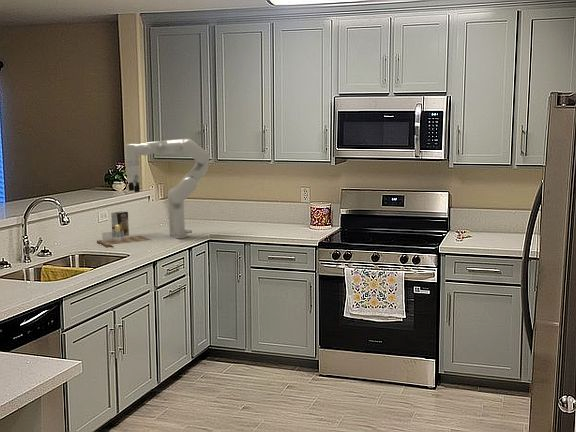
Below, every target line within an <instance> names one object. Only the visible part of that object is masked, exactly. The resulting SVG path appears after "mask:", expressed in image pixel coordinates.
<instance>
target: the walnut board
mask: <svg viewBox="0 0 576 432" xmlns="http://www.w3.org/2000/svg"><path fill="white" fill-rule="evenodd" d="M145 241H152V238H151V239H150V238H147V237H145V236H142V235H134V236H128V237H127V236H124V241H122V242H106V243H103V241H102V239H99V240H96V244H98V245H100V244H101V246H102V245H103V246H102V247H104V248H114V246H115V245H118V244H127V243H128V244H129V243H138V242H145Z"/></svg>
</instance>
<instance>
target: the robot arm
mask: <svg viewBox="0 0 576 432" xmlns="http://www.w3.org/2000/svg"><path fill="white" fill-rule="evenodd" d="M181 153H186V155H188V156H190V157H191V158H192V159H193V160H195V163H194V165H193V167H191V169H190V170H189V171H188V172H187V173H186V174H184V176H183V177H182V178H181V179H180V182H179V183H178V184H177V185H176V186H175V187H172V188H170V189H169V190H168V192H167V202H168V220H169V221H168V224H169V234H168V235H167V236H168V237H170V238H174V239H186V238H188V234H192V233H193V230H192V229H185V226H186V223H185V204H184V203H185V202H184V201H186V199H187V198H188V197H189V196H190V195H192V193H193V192H194V191H195V190H196V189H197V187H198V183H199V182H200V181H201V179H202V178H203V177H204V176H205V175H206V173H207V172H208V170H209V165H210V158H211V157H210V153H209V152H208V151H207V150H206V149H204V148H202V146H200V145H198V144H197V143H196V142H195V141H194V140H192V139H190V138H177V139H166V140H165V139H164V140H158V141H149V142H148V141H147V142H146V141H145V142H142V143H127V144H125V154H126V167H127V168H126V181H127V182H128V183H127V184H128V191H129V192H132V191H134V192H135V193H139V192H141V190H140V179H141V178H140V171H139V170H140V169H139V167H140V156H148V155H153V154H155V155H156V154H164V155H165V154H166V155H171V154H181Z"/></svg>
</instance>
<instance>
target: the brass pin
mask: <svg viewBox="0 0 576 432" xmlns="http://www.w3.org/2000/svg"><path fill="white" fill-rule="evenodd" d="M115 232H120V224H116V225H115Z"/></svg>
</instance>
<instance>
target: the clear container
mask: <svg viewBox="0 0 576 432" xmlns="http://www.w3.org/2000/svg"><path fill="white" fill-rule="evenodd" d="M124 237H125V236H124V231H122V230H120V232H115V230H114V229H112V228H111V231H107V232H102V233H101V240H102V241H103V243H106V242H122V241H124Z"/></svg>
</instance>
